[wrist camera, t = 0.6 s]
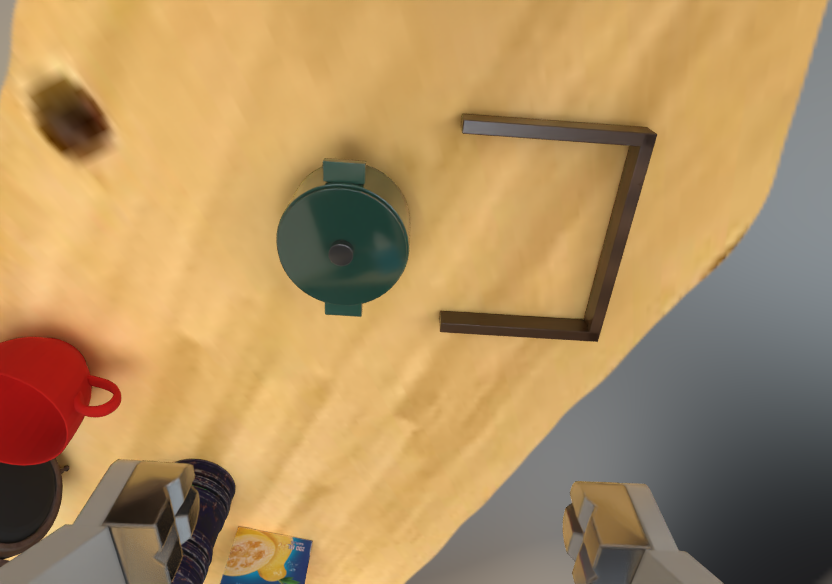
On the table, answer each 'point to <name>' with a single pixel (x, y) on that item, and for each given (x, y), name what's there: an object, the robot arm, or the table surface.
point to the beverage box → (266, 558)
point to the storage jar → (205, 519)
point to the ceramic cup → (44, 398)
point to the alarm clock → (27, 504)
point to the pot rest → (615, 238)
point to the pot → (345, 235)
